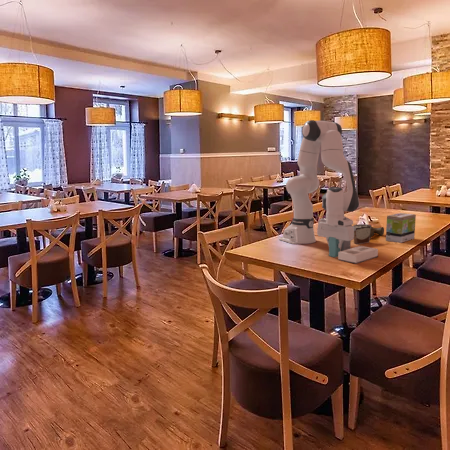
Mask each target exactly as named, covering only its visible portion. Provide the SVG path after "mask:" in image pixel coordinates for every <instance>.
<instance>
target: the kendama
mask: <svg viewBox="0 0 450 450" xmlns="http://www.w3.org/2000/svg"><path fill="white" fill-rule="evenodd" d="M375 235H379V236H381V237H382V235H383V236H384V235H385V227H384V226H380V227H373V226H371V230H370V240H371V239H372V238H373V237H374V236H375Z"/></svg>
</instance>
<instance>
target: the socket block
mask: <svg viewBox="0 0 450 450" xmlns="http://www.w3.org/2000/svg"><path fill="white" fill-rule="evenodd" d="M378 256H379V249H378V248H374V247H369V246H364V245H358V246H355V247H351V249H347V250H344V251H341V250H340V252H338V257H337V259H338V261H341V262H347V263H350V264H355V265H356V264H360V263H363V262H366V261H369V260H372V259H374V258H378Z"/></svg>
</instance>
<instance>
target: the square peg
mask: <svg viewBox="0 0 450 450" xmlns="http://www.w3.org/2000/svg"><path fill="white" fill-rule="evenodd" d="M337 244H339V239H336V238H334V237H329V246H328V257H331V258H338V252H340V251H341V248H337Z"/></svg>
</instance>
